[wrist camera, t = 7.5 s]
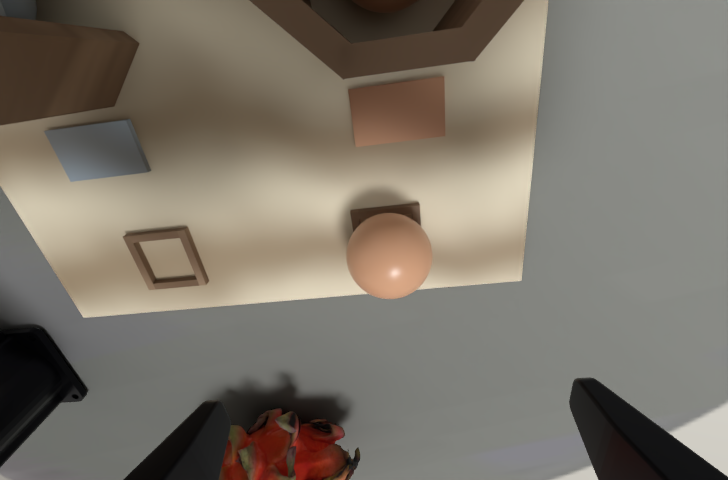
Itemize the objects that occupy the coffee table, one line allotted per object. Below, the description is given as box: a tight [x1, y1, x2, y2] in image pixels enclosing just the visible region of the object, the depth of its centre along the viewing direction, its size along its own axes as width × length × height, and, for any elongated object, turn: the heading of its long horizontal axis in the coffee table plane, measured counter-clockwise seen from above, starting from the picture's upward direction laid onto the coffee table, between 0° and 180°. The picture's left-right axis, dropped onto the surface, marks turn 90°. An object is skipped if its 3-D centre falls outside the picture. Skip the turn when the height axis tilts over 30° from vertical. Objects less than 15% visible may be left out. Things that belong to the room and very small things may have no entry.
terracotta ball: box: [346, 213, 433, 299], centre depth 16 cm, size 4×4×4 cm
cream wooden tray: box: [0, 0, 548, 318], centre depth 13 cm, size 19×26×8 cm
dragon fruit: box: [219, 408, 360, 480], centre depth 23 cm, size 8×8×12 cm
